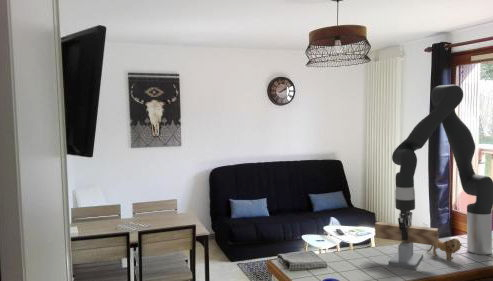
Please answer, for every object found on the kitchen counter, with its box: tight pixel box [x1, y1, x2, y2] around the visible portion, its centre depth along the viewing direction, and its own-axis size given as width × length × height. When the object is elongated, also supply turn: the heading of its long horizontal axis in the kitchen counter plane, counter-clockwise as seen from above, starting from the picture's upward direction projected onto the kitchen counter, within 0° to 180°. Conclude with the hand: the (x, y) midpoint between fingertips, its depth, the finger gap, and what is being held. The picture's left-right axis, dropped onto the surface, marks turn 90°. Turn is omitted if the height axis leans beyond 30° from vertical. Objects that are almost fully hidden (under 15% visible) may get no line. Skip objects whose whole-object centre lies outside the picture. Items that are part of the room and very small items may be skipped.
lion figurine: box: [426, 238, 462, 261], centre depth 166 cm, size 15×5×9 cm, turn 33°
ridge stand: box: [388, 241, 424, 271], centre depth 162 cm, size 16×10×8 cm, turn 145°
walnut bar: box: [374, 221, 440, 246], centre depth 162 cm, size 24×4×6 cm, turn 55°
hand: (405, 238), depth 162 cm, fingers closed on walnut bar, 3 cm apart
